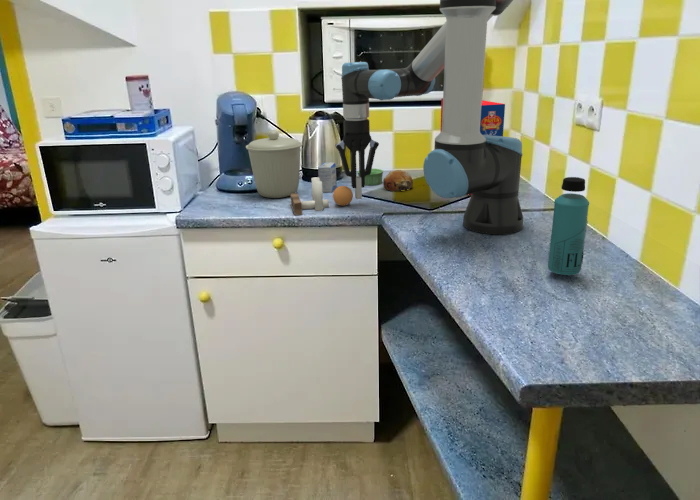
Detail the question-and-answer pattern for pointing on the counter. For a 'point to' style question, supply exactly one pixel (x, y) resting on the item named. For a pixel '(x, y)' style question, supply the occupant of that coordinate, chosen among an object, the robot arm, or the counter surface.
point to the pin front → (313, 204)
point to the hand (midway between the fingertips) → (358, 198)
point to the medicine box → (327, 177)
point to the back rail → (296, 204)
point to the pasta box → (489, 118)
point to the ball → (342, 195)
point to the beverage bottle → (568, 229)
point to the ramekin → (373, 177)
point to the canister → (275, 165)
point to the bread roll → (397, 181)
